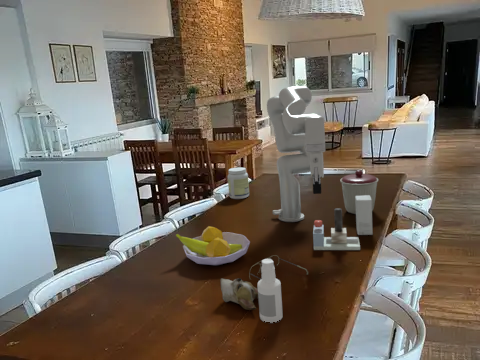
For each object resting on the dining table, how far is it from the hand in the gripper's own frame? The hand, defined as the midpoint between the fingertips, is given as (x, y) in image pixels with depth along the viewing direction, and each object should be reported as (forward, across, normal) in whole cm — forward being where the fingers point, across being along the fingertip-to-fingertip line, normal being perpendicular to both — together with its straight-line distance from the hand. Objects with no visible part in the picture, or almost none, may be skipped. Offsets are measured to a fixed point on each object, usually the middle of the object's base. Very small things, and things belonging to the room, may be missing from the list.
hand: (317, 193), depth 172 cm
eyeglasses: (+23, -28, +14) cm, 39 cm away
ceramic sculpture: (+23, -47, +23) cm, 57 cm away
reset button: (+14, 0, 0) cm, 14 cm away
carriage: (+20, 0, -8) cm, 22 cm away
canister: (+22, +44, -19) cm, 52 cm away
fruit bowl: (+23, -12, +41) cm, 49 cm away
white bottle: (+23, -54, +13) cm, 61 cm away
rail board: (+22, 0, -7) cm, 23 cm away
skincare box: (+22, +16, -19) cm, 33 cm away
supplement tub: (+22, +75, +49) cm, 92 cm away
